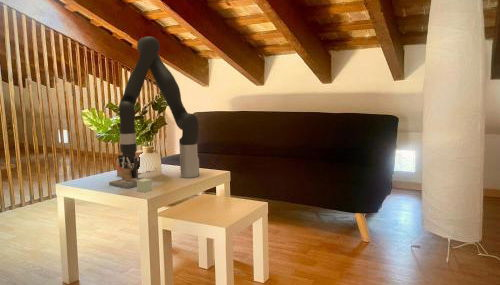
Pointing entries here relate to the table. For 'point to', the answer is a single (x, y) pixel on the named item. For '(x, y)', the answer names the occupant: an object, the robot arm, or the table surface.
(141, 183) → the sage block
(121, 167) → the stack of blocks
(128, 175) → the walnut block
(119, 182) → the base plate
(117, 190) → the table surface
